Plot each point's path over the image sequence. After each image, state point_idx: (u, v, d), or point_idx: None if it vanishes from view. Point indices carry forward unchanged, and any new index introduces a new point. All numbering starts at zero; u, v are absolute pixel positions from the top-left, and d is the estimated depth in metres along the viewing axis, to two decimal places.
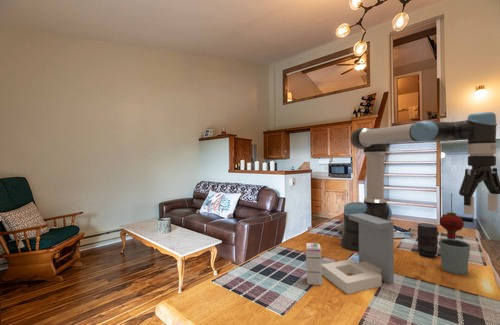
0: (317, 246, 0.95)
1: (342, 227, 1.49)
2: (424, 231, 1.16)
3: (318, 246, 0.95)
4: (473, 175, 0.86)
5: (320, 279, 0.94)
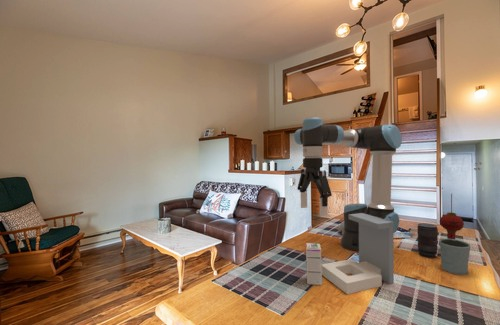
0: (317, 246, 0.95)
1: (342, 227, 1.49)
2: (424, 231, 1.16)
3: (318, 246, 0.95)
4: (301, 174, 1.01)
5: (320, 279, 0.94)
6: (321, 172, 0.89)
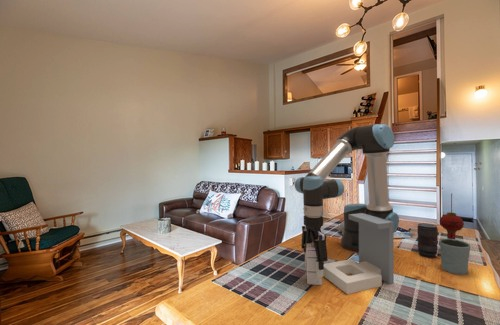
0: None
1: (342, 227, 1.49)
2: (424, 231, 1.16)
3: None
4: (302, 231, 1.02)
5: (320, 279, 0.94)
6: (321, 237, 0.90)
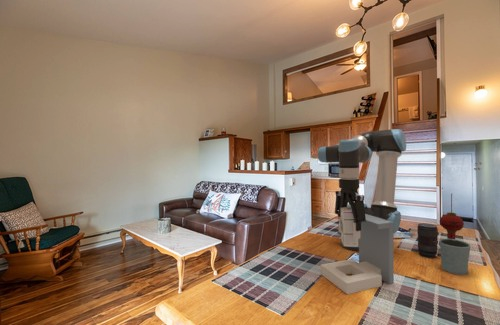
0: None
1: None
2: (424, 231, 1.16)
3: None
4: (336, 196, 1.02)
5: (357, 241, 0.94)
6: (360, 197, 0.90)
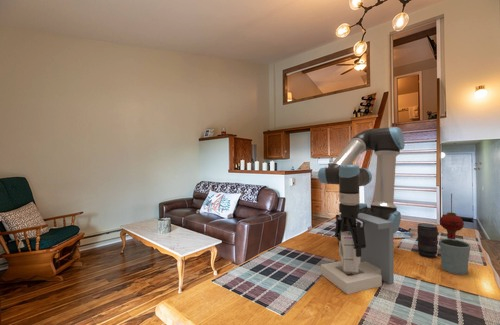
0: None
1: None
2: (424, 231, 1.16)
3: None
4: (337, 220, 1.02)
5: (357, 266, 0.94)
6: (360, 224, 0.90)
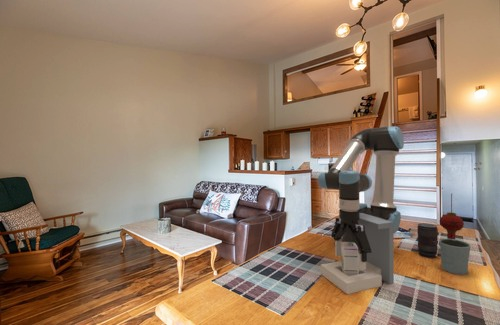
0: (353, 245, 0.96)
1: None
2: (424, 231, 1.16)
3: (354, 245, 0.96)
4: (336, 223, 1.03)
5: None
6: (360, 228, 0.90)
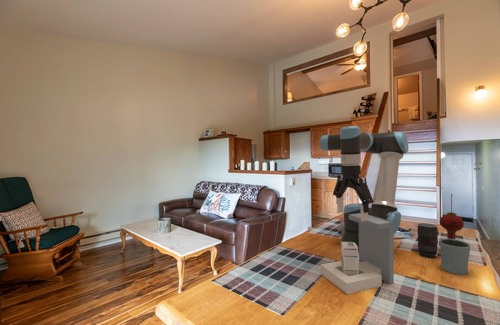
0: (353, 245, 0.96)
1: (341, 227, 1.50)
2: (424, 231, 1.16)
3: (354, 245, 0.96)
4: (337, 180, 1.05)
5: None
6: (362, 180, 0.92)
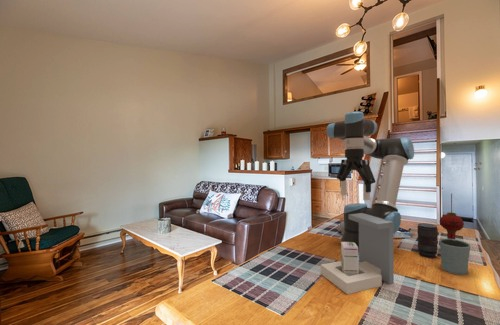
0: (353, 245, 0.96)
1: (341, 227, 1.50)
2: (424, 231, 1.16)
3: (354, 245, 0.96)
4: (341, 164, 1.10)
5: None
6: (365, 161, 0.98)
